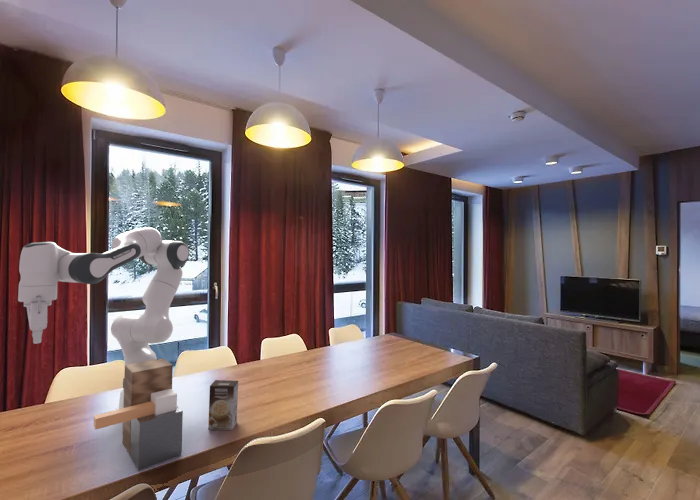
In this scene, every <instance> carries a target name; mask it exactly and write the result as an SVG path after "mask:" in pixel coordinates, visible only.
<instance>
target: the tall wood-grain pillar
mask: <svg viewBox="0 0 700 500" xmlns="http://www.w3.org/2000/svg"><path fill="white" fill-rule="evenodd" d="M173 368H174V366H173V364H172V363H171V362H169V361H168V360H166V359H165V358H164V357H162V358H157V359H156V360H150V361H145V362H139V363H133V364H127V365H125V364H124V377H123V379H124V406H123V408H126V407H130V406H134V405H138V404H142V403H146V402H150V401H151V393H155V392H159V391H163V390H168V389H172V390H173ZM121 437H122V439H121V441H122V444H123V446H124V447H125V449H126V451H127V453H128V455H129V456H130V439H131V420H130V421H126V422H122V436H121Z"/></svg>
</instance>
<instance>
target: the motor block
mask: <svg viewBox="0 0 700 500" xmlns="http://www.w3.org/2000/svg"><path fill="white" fill-rule="evenodd" d="M183 411H184V410H182V408H180V406H179V405H177V410H174V411H170V412H166V413H163V414H159V415H155V414H152V415H148V416H144V417H141V418H137V419H133V420H131V439H130V455H129V457H130V459H131V461H132V462H133V464H134V466H135V468H136V470H137V472H140V471H142V470H145V469H147V468H148V469H149V468H151V467H153V466H156V465H159V464H162V463H164V462H167V461H170V460H172V459H176V458H179V457H181V456H182V452H183V451H182V450H183V447H182V446H183V419H184V417H183V415H184V413H183Z"/></svg>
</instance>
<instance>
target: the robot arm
mask: <svg viewBox="0 0 700 500" xmlns="http://www.w3.org/2000/svg"><path fill="white" fill-rule="evenodd" d="M189 248H190V247H188V245H187V244H186V243H185V242H184V241H180V240H167V239H165V240H163V238H162V234H161V233H160V232H159V230H157V229H156V228H153V227H142V228H141V227H139V228H135V229H132V230H128V231H125V232H121V233H120V234H118V235H116V236H115V237H114V238H113V239H112V242H111V249H110V250H108V251H105V252H103V253H98V252H85V253H84V252H77V253H76V252H71V251H69V250H66V249H64V248H62V247H60V246H59V245H58V244H57V243H56V242H54V241H42V242H41V241H39V242H31V243H27V244H26V245H25V244H24V246H23V247H22V250H21V252H20V257H19V265H18V266H19V268H18V270H19V274H20V281H19V283H18V294H17V295H18V296H17V301H18V302H19V303H23V307H25V308H26V313H27V319H28V326H29V330H30V331H31V332H32V333H31V336H32V337H31V338H32V344H33V345H35V344H36V345H37V344H41V343H42V339H43V331H44V330H46V329H47V327H48V306H52V303H53V301H56V300H57V299H58V282H63V283H76V284H77V283H78V284H86V285H95V284H99V283H100V282H102V281H103V280H105V278H106V277H107V276H108V275H110V273H112V272H113V271H114V270H116V269H118V268H121V267H122V266H124V265H126V264H128V263H130V262H132V261H134V260H135V259H139V260H140V262H142V263H143V264H145V265H148V266H157V269H156V273H155V274H154V276H153V277H152V278H151V280H150V283H149V284H148V286H147V288H146V290H145V291H144V293H143V295H142V299H141V300H142V302H143V304H144V305H145V310H144V312H143V314H137V313H136V314H134V313H129V314H123V315H120V316H118V317H116V318H115V319H114V320H113V322H112V323H111V327H110V332H111V335H112V336H113V337H114V338H115V339H116V340H117V342H118V344H119V346H120V348H121V351H122V354H123V359H124V366H125V365H127V364H133V363H139V362H145V361H150V360H156V359H158V358H157V354H156V353H155V351H153V350H152V348H151V347H150V345H149V344H151V345H153V344H160V343H165V342H167V341H168V340H169V339H170V337H171V336H172V333H173V331H174V330H173V328H174V327H173V322H172V321H171V319H170V317H169V316H170V315H169V310H170V307H171V303H172V302H173V300H174V298H175V295H176V293H177V291H178V289H179V287H180V283H181V281H182V277H183V270H182V268H184V267H185V265H186V263H187V262H188V260H189V257H190V249H189ZM118 401H119V402H118V407H117V408H115V410H118V409H122V408H123V406H124V378H123V379H122V390H121V391H120V395H119V400H118Z"/></svg>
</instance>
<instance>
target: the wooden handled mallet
mask: <svg viewBox="0 0 700 500" xmlns="http://www.w3.org/2000/svg"><path fill="white" fill-rule="evenodd" d="M177 402H178V394H177V392H175V390H173V388H172V389H168V390H163V391H159V392H155V393H151V401H150V402H146V403H142V404H138V405H134V406H130V407H126V408H122V409H118V410H116V409H114V410H110V411H106V412H103V413H99V414H94V415H93V427H94V430H95V431H96V430H101V429H103V428H107V427H110V426H114V425H118V424H123V422H126V421H130V420H133V419H137V418H141V417H144V416H148V415H152V414H155V415H159V414H163V413H166V412H170V411H174V410H177V406H178V405H177V404H178V403H177Z"/></svg>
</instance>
